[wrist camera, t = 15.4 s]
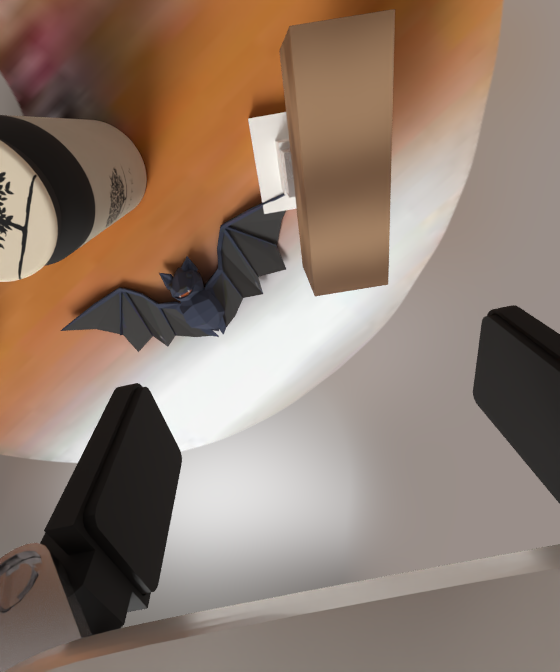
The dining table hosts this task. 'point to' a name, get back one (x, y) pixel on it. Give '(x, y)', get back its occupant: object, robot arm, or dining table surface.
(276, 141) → the fulcrum stand
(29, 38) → the dining table surface
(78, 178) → the travel mug
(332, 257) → the wooden block
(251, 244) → the decorative bat
